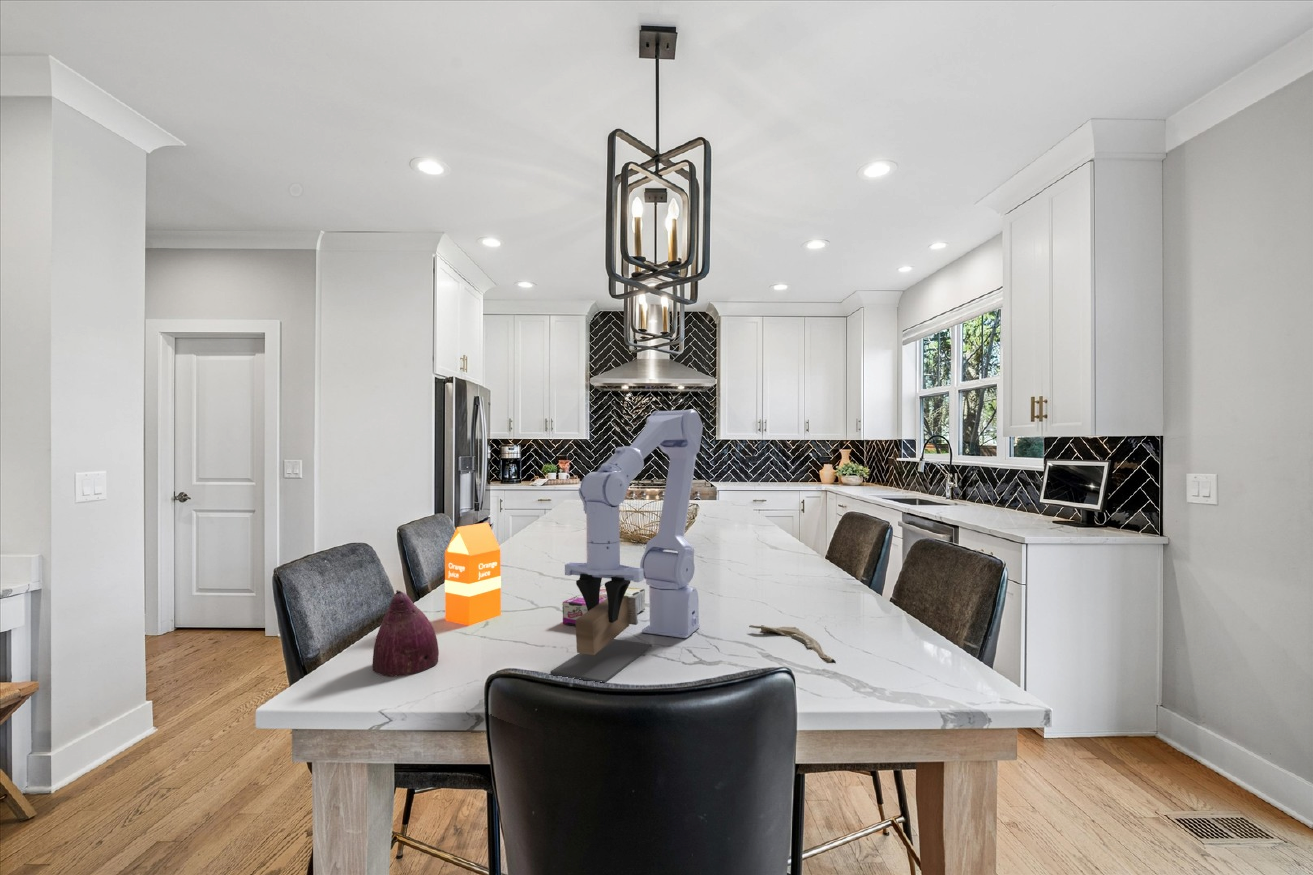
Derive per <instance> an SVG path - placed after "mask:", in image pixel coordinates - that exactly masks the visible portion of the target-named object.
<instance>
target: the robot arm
mask: <svg viewBox="0 0 1313 875" xmlns="http://www.w3.org/2000/svg"><path fill="white" fill-rule="evenodd" d="M703 428H704V425H703V423H702V419H701V417H700V415H699V413H698V411H697V410H696V409H692V408H691V409H687V410H686V409H685V410H684V409H682V410H681V409H680V410H679V409H678V410H655V411H652V412H651V413H650V416H648V417H647V418H646V424H645V427H644V428H643V429H642V430H641V432H640V433H639V434H638V435H637V437H636V438H635V439H634V440H633V442H632V443H631V444H630V445H629V446H627V445H623V446H617V447H616V448H615V449H614V454H612V455H611V456H610V457H609V458H608V459H607V460H606V461H605V462H603V463H602V464H601V465H600V467H599V468H598V469H597V471H591V472H589V473H587V474H586V475H585V476H584V477H583V478H582V480H581V482H580V487H579V488H578V494H579V498H580V500H581V502H582V505H583V511H584V514H586V520H585V522H586V562H572V561H571V562H568V563H565V564H564V576H567V577H568V576H579V577H578V578H579V579H577V580H576V582H575V584H576V586H577V588H578V590H579V591H580V594H582V596H583V598H584V600H585V603H586V606H587V610H588V611H589V610H591V609H592V608H594V607H595V606H596V605H598V604H599V594H600V586H601V585H602V580H603V579H610V580H608V581H606V582H605V583H604V585H605V588H606V592H607V598H608V618H609V622H611V623H613V622H615V621H616V620H618V616H619V611H620V607H621V603H622V600H623V597H624V595H625V592H626V590H627V588H628V587H629V586H630V584H631V581H632V582H634V583H640V582H643V581H644V580H645V583H646V586H649V587H648V588H649V589H648V591H649V601H648V602H649V625H647V626H646V627H644V628H642V630H641V633H645V634H652V635H659V636H667V637H674V638H681V639H687V638H688V637H689V636H690V635H692V634H694V632H695V631H697V630H698V629H699V628H700V627H701V626H700V624H699V619H700V618H699V593H698V590H697V588H695V587H690V586H689V584H690V582H691V581H692V580H693V577H694V574H695V568H696V567H695V561H694V560H695V559H694V556H695V549H694V548H693V546H692V545H691V544H690V542H688V541H687V540H686V539H685V533H686V525H687V519H688V513H689V512H688V511H689V505H690V500H691V492H692V486H693V479H694V472H695V467H696V466H695V465H696V461H697V460H696V459H697V454H698V453H699V452H700V449H701V441H702V438H703V437H702V436H703V430H704V429H703ZM656 448H659V449H660V450H661V452H662V453H664V454H666V455H667V456H668V458H669V464H668V471H667V477H666V483H665V488H664V489H665V490H664V495H663V501H662V508H661V514H660V520H659V526H658V533H657V534H656V535H655V536H654V537H652V538H651V539H649V540H648V541H647V542H646V546H645V550H644V552H643V555H642V556H641V559H640V564H639V567H634V566H629V565H623V564H621V563H620V562H621V555H620V553H621V551H620V549H621V548H620V546H621V545H620V544H621V542H620V540H621V539H620V531H621V530H620V505H621V503H624V502H625V499H626V497H627V493H628V489H629V488H630V484H631V483H632V481H633V480H634V479H635V478H636V477H637V476H638V475H639V474H640V472H641V471H643V469H644V467H645V461H644V459H646V457H648V456H649V455H650V454H651V453H653V451H654V450H656ZM672 551H673V552H672Z"/></svg>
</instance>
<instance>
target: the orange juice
mask: <svg viewBox="0 0 1313 875" xmlns="http://www.w3.org/2000/svg"><path fill="white" fill-rule="evenodd" d="M501 562H502V561H501V547H500V545H499V543H498V540H497V539H496V537H495V534H494V532H493V530H492V528H491V526H490V524H489V522H481V523H475V524H469V525H462V526H457V527H456V530H455V531H454V534H453V536H452V538H451V539H450V541H449V544H448V545H447V548H446V549H445V551H444V599H445V601H444V603H445V608H444V609H445V610H444V611H445V612H444V613H445V616H444V619H445V621H447V622H452V623H456V624H461V625H465V626H472V625H475V624H478V623H479V624H480V623H482V622H484V621H488V620H490V619H494V618H496V617H499V616H502V598H501V596H502V591H501V589H502V576H501V569H502V568H501V565H502V564H501Z"/></svg>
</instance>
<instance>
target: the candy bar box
mask: <svg viewBox="0 0 1313 875" xmlns="http://www.w3.org/2000/svg"><path fill="white" fill-rule="evenodd" d="M645 591H646V589H645V588H638V587H629V586H628V588H627V590H626V592H625V595H624V596H632V597H636V599H637V615H638V614H639V613H642V612H643V611H645V610H646V599H645V597H646V594H645ZM606 594H607V592H606V588H605V583H604V584H601V586H600V594H599V603H601V602H602V601H604V600H605V599H606ZM586 612H588V610H587V606H586V603H585V600H584V598H583V596H582V594H581V593H580V594H578V595H576V596H573V597H571V598H569V599H566V600H564V601H562V625H567V626H573V627H574V626H575V627H576V624H575V620H576V619H578V618H579V617H581V616H582V615H583V614H585V613H586Z"/></svg>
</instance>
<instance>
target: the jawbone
mask: <svg viewBox="0 0 1313 875" xmlns="http://www.w3.org/2000/svg"><path fill="white" fill-rule="evenodd" d="M748 627H749V628H752V629H761V632H763V633H770V632H773V633H777V634H779V635H782V636H785V637H790V638H791V639H794V640H796V641H798V642H800V643H801V644H804V645H805V646H806V648H807V649H811V650H812V651H813V652H815V653H817V655H818V657H819V658H821V659H823V660H824V661H826V662H827V663H828V664H829V663H830V664H831V662H832V663H835V664H836V663H837V662H836V661H837V660H835V659H834V658H832V657H831V656H829V655H827V654H825V652H824V651H823V649H822V646H821V645H820V643H819V642H818V641H817V640H816V639H814V638H813V637H811V636H810V635H808V634H806V633H805V632H804V631H803V630H802V631H801V630H800V629H799V628H797V627H796V626H795V627H794V626H778V627H771V626H765V625H751V624H750V625H749V626H748Z"/></svg>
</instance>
